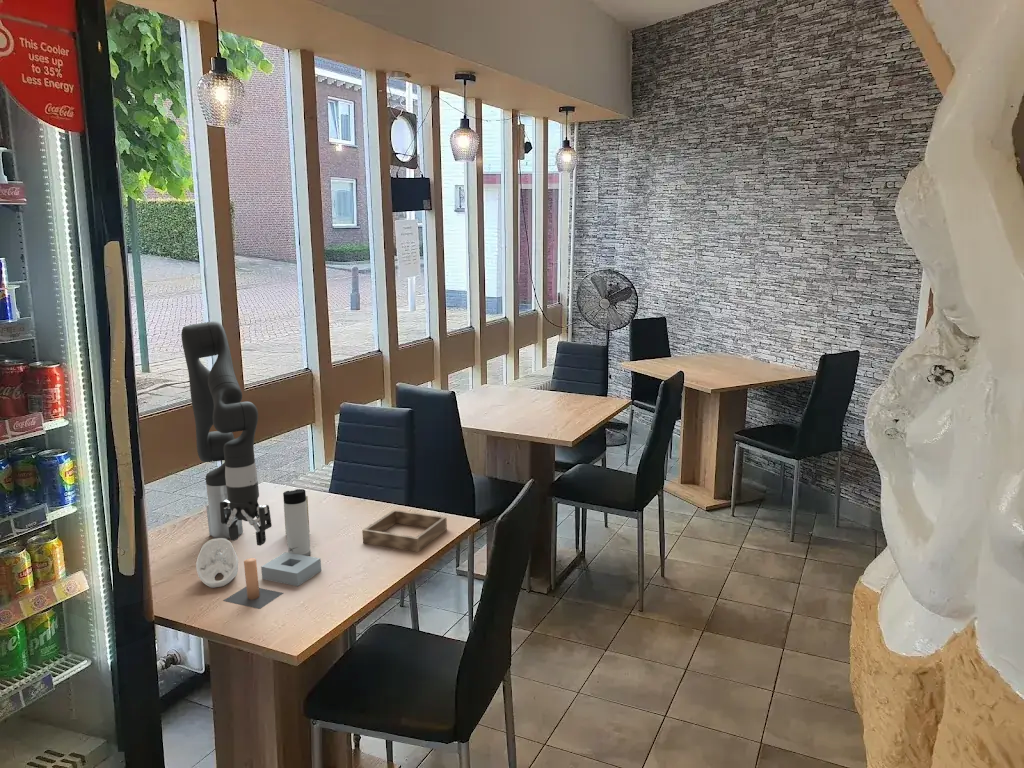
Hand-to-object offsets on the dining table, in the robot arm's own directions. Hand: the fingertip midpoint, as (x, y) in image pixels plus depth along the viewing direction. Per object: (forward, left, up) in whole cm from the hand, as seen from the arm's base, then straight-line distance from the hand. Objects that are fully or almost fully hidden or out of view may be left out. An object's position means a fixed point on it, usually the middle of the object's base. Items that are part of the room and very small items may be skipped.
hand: (247, 542), depth 195 cm
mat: (0, 0, -16) cm, 16 cm away
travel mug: (-6, +26, -16) cm, 31 cm away
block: (+1, +14, -16) cm, 21 cm away
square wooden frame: (+16, +49, -16) cm, 54 cm away
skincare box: (-17, +39, -16) cm, 45 cm away
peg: (0, 0, -15) cm, 15 cm away
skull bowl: (-16, +5, -16) cm, 23 cm away
